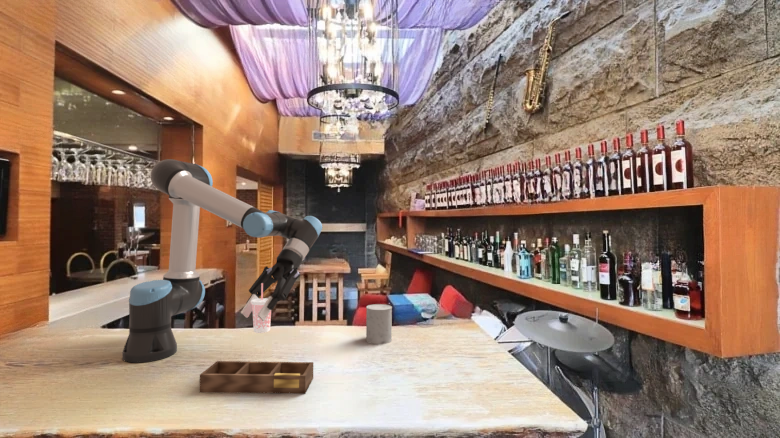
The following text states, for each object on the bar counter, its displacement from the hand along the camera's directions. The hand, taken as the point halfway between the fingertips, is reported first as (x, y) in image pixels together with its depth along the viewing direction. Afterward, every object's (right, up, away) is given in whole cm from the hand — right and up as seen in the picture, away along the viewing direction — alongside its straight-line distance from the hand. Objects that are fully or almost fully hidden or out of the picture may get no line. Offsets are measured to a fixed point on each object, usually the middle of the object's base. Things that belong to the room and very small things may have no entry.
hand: (252, 316), depth 111 cm
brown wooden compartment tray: (+5, -16, -8) cm, 19 cm away
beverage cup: (+2, -5, +3) cm, 6 cm away
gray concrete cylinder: (+36, -17, +32) cm, 51 cm away
